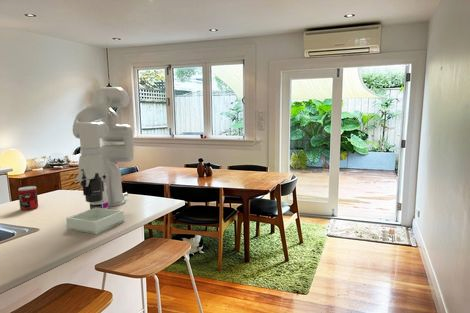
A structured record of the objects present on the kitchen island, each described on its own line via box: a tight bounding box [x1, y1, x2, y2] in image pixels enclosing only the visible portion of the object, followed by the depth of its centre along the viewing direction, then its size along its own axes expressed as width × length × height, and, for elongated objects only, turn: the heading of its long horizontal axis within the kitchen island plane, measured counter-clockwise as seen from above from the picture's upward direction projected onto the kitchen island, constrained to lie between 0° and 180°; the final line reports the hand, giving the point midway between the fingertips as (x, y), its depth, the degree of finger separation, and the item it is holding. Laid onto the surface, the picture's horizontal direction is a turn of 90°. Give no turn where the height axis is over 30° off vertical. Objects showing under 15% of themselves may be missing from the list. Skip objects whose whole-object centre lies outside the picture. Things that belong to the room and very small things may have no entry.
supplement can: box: [89, 182, 109, 210], centre depth 156 cm, size 8×8×15 cm
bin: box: [65, 207, 125, 235], centre depth 139 cm, size 16×16×5 cm
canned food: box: [17, 185, 39, 212], centre depth 166 cm, size 8×8×11 cm
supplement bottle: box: [84, 173, 103, 203], centre depth 137 cm, size 7×7×12 cm
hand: (93, 193), depth 138 cm, fingers closed on supplement bottle, 6 cm apart
